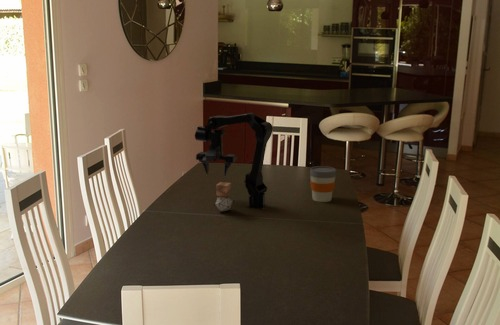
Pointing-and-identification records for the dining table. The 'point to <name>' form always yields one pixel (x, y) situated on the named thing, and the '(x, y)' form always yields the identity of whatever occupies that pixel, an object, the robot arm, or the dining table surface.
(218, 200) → the game die
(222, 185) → the terracotta block
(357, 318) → the dining table surface
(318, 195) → the reusable coffee cup
